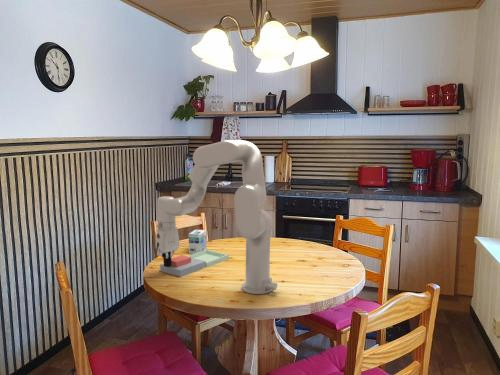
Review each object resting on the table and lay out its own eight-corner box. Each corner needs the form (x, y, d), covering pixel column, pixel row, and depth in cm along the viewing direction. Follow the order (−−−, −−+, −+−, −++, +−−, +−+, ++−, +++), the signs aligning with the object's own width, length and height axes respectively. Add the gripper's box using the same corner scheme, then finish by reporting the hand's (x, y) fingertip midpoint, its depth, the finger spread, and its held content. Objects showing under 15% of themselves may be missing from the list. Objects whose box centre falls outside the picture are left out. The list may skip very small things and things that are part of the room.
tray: (228, 258, 193) (228, 254, 193) (206, 267, 180) (206, 262, 180) (206, 253, 202) (206, 249, 201) (184, 261, 189) (184, 257, 188)
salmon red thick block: (191, 262, 178) (191, 257, 177) (176, 267, 170) (176, 262, 170) (181, 260, 181) (181, 255, 181) (167, 265, 174) (167, 259, 174)
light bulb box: (200, 254, 200) (200, 234, 199) (188, 254, 201) (188, 233, 200) (207, 249, 210) (207, 229, 209) (195, 248, 212) (195, 229, 211)
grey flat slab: (205, 267, 180) (205, 261, 180) (180, 277, 167) (180, 270, 167) (185, 262, 188) (185, 256, 187) (160, 271, 175) (160, 264, 174)
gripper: (159, 229, 159) (160, 272, 162) (185, 223, 172) (185, 263, 174) (147, 227, 164) (148, 269, 166) (173, 221, 176) (174, 260, 178)
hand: (167, 266), depth 170 cm, fingers closed
